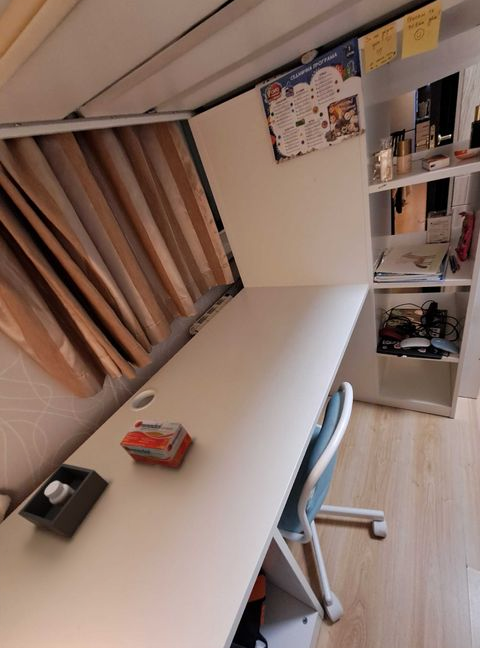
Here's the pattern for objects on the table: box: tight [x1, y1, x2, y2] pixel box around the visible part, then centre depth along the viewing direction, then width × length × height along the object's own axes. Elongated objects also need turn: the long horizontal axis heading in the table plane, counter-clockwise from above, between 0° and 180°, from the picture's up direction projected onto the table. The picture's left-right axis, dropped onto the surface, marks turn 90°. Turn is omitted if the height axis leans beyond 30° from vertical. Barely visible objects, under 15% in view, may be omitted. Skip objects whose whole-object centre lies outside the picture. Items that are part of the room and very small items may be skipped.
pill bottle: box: [44, 481, 75, 509], centre depth 70 cm, size 4×4×8 cm
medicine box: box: [119, 419, 193, 469], centre depth 76 cm, size 15×8×8 cm, turn 73°
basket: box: [17, 462, 110, 539], centre depth 71 cm, size 13×13×6 cm
